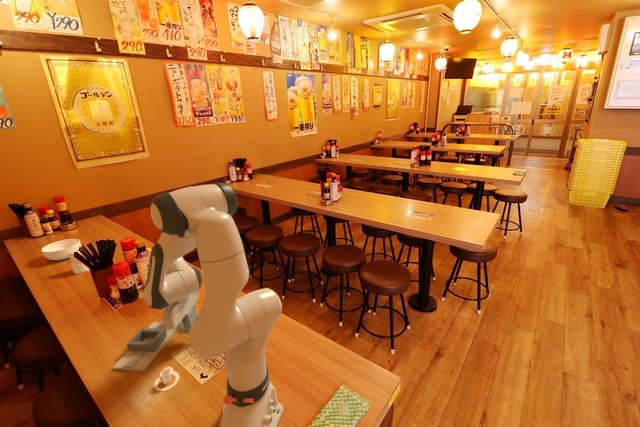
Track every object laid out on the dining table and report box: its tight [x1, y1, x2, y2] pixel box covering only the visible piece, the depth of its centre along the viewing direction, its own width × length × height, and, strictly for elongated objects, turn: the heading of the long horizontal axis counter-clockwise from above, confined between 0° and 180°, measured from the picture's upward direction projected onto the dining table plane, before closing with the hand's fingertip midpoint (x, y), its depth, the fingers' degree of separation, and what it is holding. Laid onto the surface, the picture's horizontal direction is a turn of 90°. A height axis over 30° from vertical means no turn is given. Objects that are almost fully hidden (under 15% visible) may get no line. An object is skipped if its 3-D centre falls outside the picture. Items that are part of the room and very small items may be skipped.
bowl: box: [40, 238, 82, 261], centre depth 198 cm, size 20×20×8 cm
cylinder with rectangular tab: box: [68, 250, 90, 275], centre depth 178 cm, size 9×9×12 cm
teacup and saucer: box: [153, 366, 180, 392], centre depth 104 cm, size 9×8×4 cm
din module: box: [176, 308, 197, 335], centre depth 119 cm, size 4×7×9 cm, turn 85°
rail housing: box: [112, 321, 177, 372], centre depth 120 cm, size 24×12×4 cm, turn 175°
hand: (186, 322), depth 119 cm, fingers closed on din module, 4 cm apart
